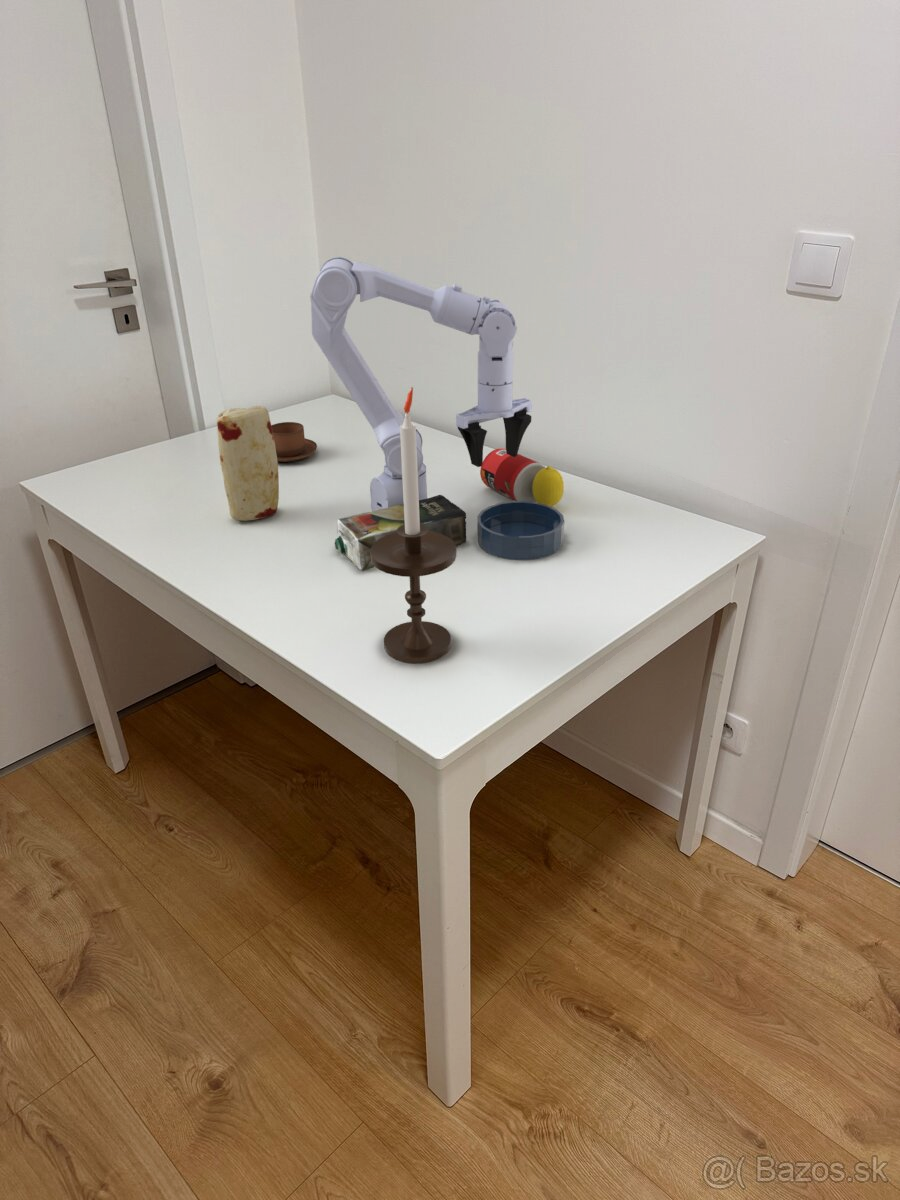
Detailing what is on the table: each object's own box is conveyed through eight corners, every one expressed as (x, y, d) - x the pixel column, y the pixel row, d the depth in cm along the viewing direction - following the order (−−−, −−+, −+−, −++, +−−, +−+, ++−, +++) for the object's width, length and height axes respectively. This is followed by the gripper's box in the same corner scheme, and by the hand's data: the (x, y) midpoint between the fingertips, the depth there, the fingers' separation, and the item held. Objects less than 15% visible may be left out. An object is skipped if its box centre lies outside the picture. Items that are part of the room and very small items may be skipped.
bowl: (513, 568, 132) (514, 545, 130) (460, 536, 142) (460, 515, 140) (580, 543, 139) (582, 521, 137) (525, 515, 149) (526, 494, 147)
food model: (236, 529, 146) (218, 417, 136) (224, 516, 151) (205, 406, 141) (289, 516, 150) (275, 406, 140) (275, 503, 155) (261, 396, 145)
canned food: (471, 472, 156) (508, 491, 148) (497, 438, 156) (535, 455, 148) (493, 495, 161) (530, 513, 153) (518, 461, 161) (556, 478, 153)
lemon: (563, 502, 153) (565, 461, 149) (561, 515, 148) (564, 473, 144) (532, 501, 154) (534, 460, 150) (530, 514, 149) (532, 471, 145)
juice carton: (355, 574, 131) (352, 538, 128) (332, 549, 139) (329, 515, 136) (468, 546, 139) (468, 511, 136) (440, 524, 147) (439, 491, 144)
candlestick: (451, 619, 119) (446, 371, 101) (464, 662, 110) (460, 398, 92) (374, 627, 118) (355, 377, 100) (380, 671, 108) (361, 404, 91)
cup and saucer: (253, 451, 179) (249, 423, 176) (308, 442, 183) (305, 415, 180) (268, 470, 170) (264, 441, 166) (325, 460, 174) (322, 431, 171)
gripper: (474, 394, 131) (474, 476, 138) (545, 378, 138) (541, 457, 145) (448, 384, 136) (449, 464, 143) (517, 369, 143) (515, 445, 150)
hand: (494, 460), depth 144 cm, fingers open, 7 cm apart
